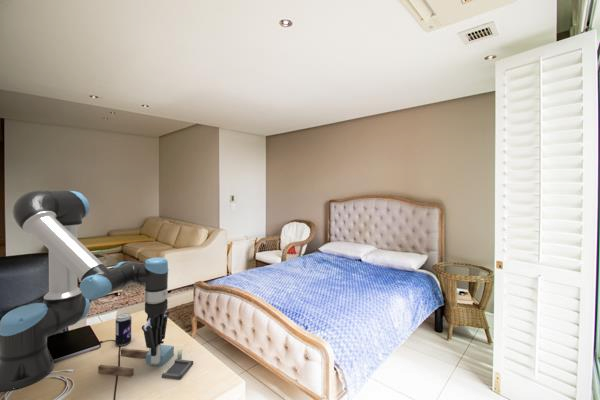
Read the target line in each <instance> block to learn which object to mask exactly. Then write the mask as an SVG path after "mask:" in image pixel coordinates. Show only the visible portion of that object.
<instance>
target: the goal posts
mask: <svg viewBox="0 0 600 400" xmlns="http://www.w3.org/2000/svg"><path fill="white" fill-rule="evenodd" d="M150 350H151V348H148V351H150ZM176 352H177V355H176V357H177V358H176V359H179V360H182V355H183V349H178V350H177V351H176Z"/></svg>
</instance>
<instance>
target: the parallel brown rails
mask: <svg viewBox="0 0 600 400" xmlns="http://www.w3.org/2000/svg"><path fill="white" fill-rule="evenodd" d="M148 352H149V350H143V349H133V348H124V347H122V348H121V349H120V357H128V358H137V359H145V360H146V354H147V353H148ZM97 367H98V370H97V373H98V374H104V375H111V376H121V377H129V378H132V377H133V376H135V375H134V374H135V368H134V367H128V366H127V367H125V366H117V365H109V364H99V365H98V366H97Z"/></svg>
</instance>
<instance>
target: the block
mask: <svg viewBox="0 0 600 400" xmlns="http://www.w3.org/2000/svg"><path fill="white" fill-rule="evenodd" d="M148 351H149V350H148ZM174 352H175V346H174V345H166V344H161V350H160V362H159V363H158V364H155V363H151V350H150V351H149V352H148V353H147V354H146V359H145V365H150V366H159V367H164V365H165V364H166V363H167V362H168V361H170V359H171V358H173V356H174Z"/></svg>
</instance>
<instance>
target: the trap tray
mask: <svg viewBox="0 0 600 400" xmlns="http://www.w3.org/2000/svg"><path fill="white" fill-rule="evenodd" d="M193 365H194V360H188V359H177V358H176V359H174V362H173V364H172V366H170V367H169V368H168V370H167V371H166V372H163V373H162V374H161V378H162V379H169V380H177V381H178V380H179V381H181V380H182V378H183V377H184V376H185V375H186V374H187V372H188V371H189V370H190V369H191V368H192V367H193Z"/></svg>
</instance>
